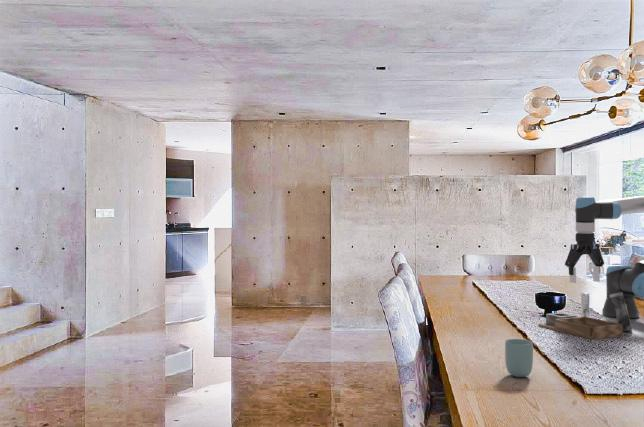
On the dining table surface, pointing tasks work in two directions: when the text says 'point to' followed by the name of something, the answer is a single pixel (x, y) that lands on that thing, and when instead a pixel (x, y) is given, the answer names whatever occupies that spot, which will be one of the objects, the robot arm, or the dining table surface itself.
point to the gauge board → (582, 326)
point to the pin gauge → (584, 304)
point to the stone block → (621, 310)
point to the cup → (519, 357)
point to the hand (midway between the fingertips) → (584, 282)
